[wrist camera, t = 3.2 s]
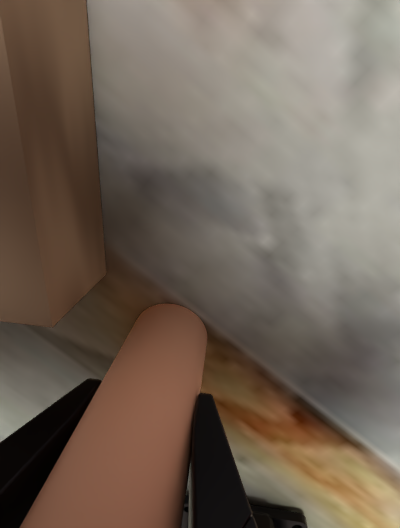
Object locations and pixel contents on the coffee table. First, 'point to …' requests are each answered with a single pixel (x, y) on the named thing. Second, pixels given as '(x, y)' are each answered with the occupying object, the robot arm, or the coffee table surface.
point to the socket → (47, 162)
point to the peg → (132, 433)
